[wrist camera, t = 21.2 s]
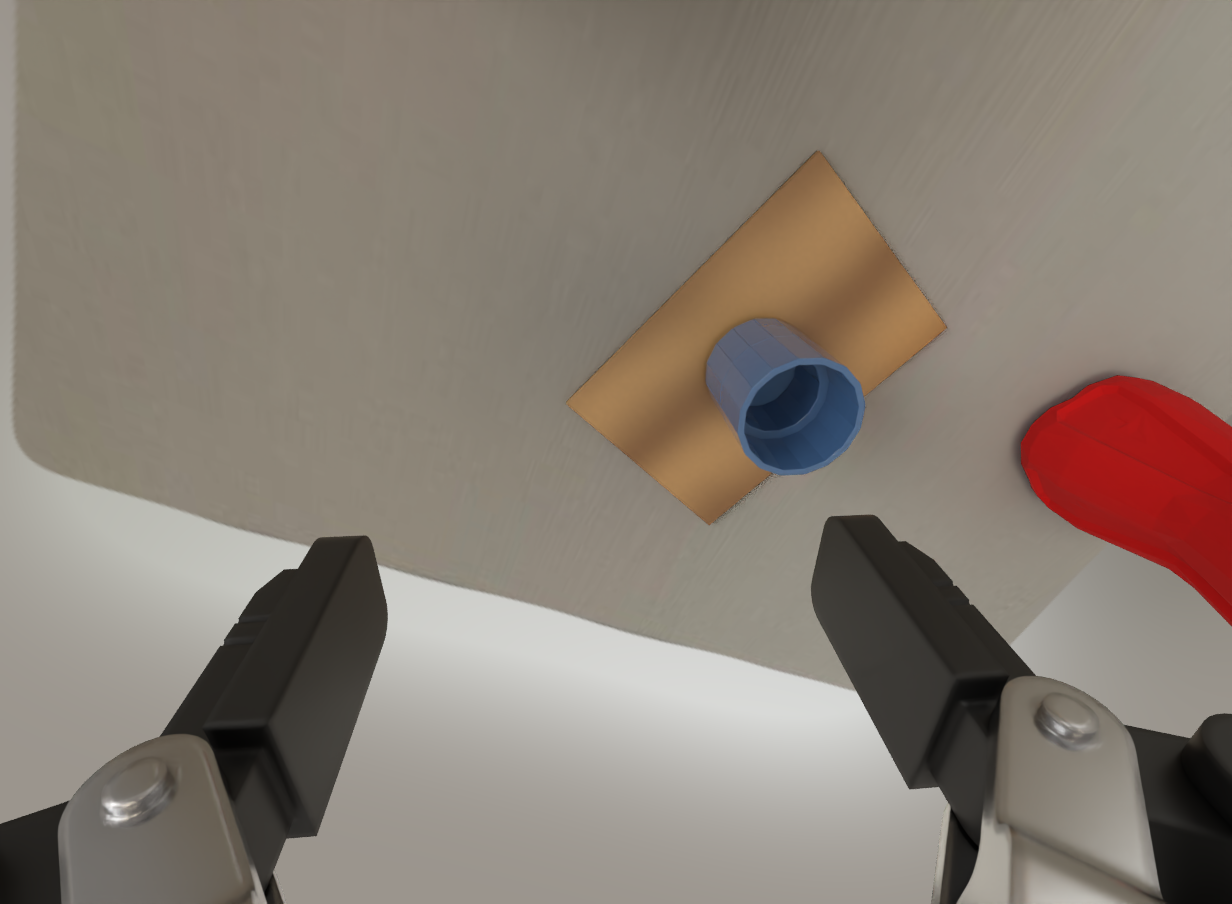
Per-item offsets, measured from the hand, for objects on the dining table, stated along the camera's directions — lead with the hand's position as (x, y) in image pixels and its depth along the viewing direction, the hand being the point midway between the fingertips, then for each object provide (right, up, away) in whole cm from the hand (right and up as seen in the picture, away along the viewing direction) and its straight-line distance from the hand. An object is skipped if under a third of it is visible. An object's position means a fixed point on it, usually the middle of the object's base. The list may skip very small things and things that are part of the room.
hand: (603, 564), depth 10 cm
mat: (+9, +8, +26) cm, 29 cm away
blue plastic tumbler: (+9, +7, +26) cm, 28 cm away
